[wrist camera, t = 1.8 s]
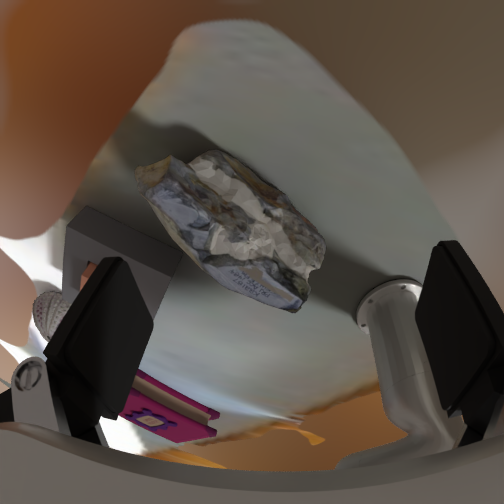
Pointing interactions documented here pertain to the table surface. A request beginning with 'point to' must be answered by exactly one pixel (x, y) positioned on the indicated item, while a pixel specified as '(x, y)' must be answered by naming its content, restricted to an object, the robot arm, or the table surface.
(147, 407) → the book
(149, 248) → the button box
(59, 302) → the sea urchin shell
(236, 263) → the fossil rock
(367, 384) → the table surface
